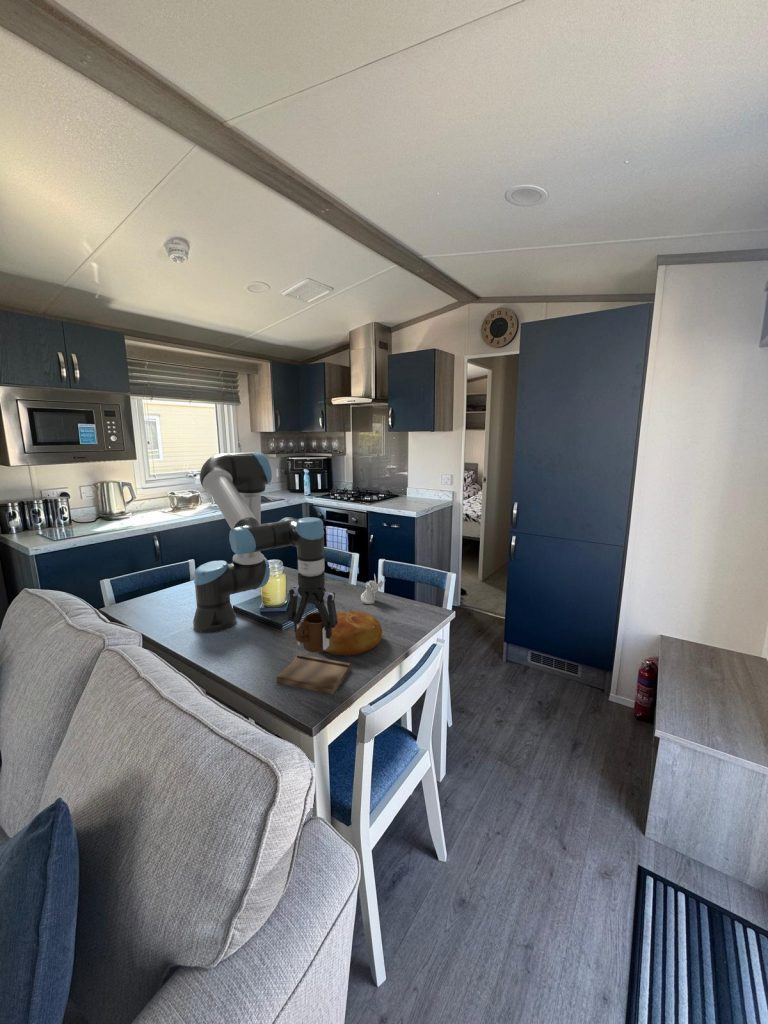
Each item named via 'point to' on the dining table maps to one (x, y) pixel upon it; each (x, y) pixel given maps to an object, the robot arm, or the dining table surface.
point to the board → (314, 673)
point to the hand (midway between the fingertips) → (313, 645)
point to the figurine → (371, 591)
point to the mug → (311, 633)
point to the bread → (354, 633)
